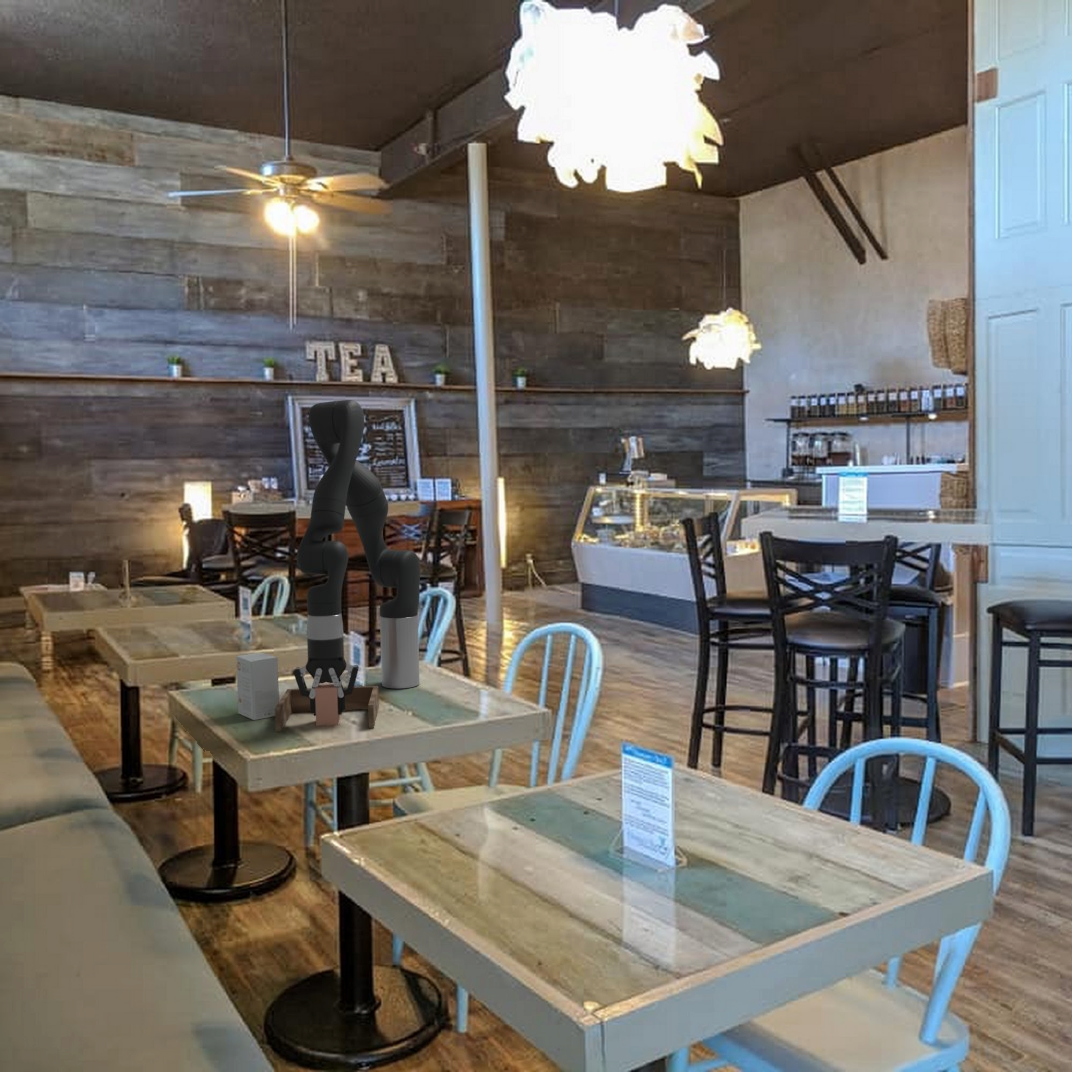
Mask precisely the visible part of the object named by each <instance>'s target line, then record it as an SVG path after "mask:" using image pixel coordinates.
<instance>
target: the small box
mask: <svg viewBox="0 0 1072 1072" xmlns="http://www.w3.org/2000/svg"><path fill="white" fill-rule="evenodd" d="M235 659H236V660H235V661H236V685H237V689H236V690H237V709H238V710H237V712H238V713H237V714H239V715H241V716H243V717H246V718H248V719H251V720H252V721H257V720H261V719H266V718H272V717H275V708H276V706H277V704H278V703H279V701H280V695H279V694H280V691H279V690H280V689H279V665H278V664H279V663H278V661H279V660H278V657H277V656H274V655H271V654H267V653H264V652H257V653H255V652H254V653H248V654H247V653H246V654H241V655H236V657H235Z"/></svg>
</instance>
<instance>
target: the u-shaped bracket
mask: <svg viewBox="0 0 1072 1072" xmlns="http://www.w3.org/2000/svg"><path fill="white" fill-rule="evenodd" d="M311 688H312V687H311ZM311 688H309V687H307V689H309V690H311ZM343 688H344V689H345V688H348V686H343ZM352 709H364V710H368V729H374V728H375V725H376V722H375V721H377V716H378V712H379V709H380V700H379V685H369V686H368V685H363V686H354V689H353V692H352V694H349V695H346V696H345V710H344V711H353V710H352ZM309 711H310V698H309V697H307V696H302V695H301V693H300V690H299V688H287V689H286V691H285V692H284V694H283V695H282V696H281V698H280V699H279V703H278V704H277V706H276V708H275V716H274V717H275V718H274V719H275V732H276V733H281V732H282V731H283V729H284V727H285V725H286V724H287V722H288V720H289V718H290V716H291V715H292V713H307V712H309ZM310 713H311V711H310ZM290 714H291V715H290ZM286 721H287V722H286ZM282 728H283V729H282Z"/></svg>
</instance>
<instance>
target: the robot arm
mask: <svg viewBox="0 0 1072 1072" xmlns="http://www.w3.org/2000/svg"><path fill="white" fill-rule="evenodd" d="M308 423H309V428H310V431H311V434H312V436H313V438H314V439H313V440H314V441H315V442H316V444H317V446H318V448H319V451H321V454H322V455H323V457H324V459H325V461H326V462H327V464H328V467H327V469H326V470H325V472H324V473H323V475H322V477H321V478H320V479H319V481H318V483H317V485H316V487H315V490H314V493H313V497H312V503H311V510H310V511H311V513H310V518H309V522H308V524H307V527H306V530H305V533H304V535H303V537H302V538H301V539H302V540H301V541H300V544H299V546H298V548H297V552H296V565H297V567H298V569H299V571H301V573H303V574H304V575H328V579H327V581H326V582H325V583H323V584H317V585H313V586H311V587H309V588H308V589H307V591H306V602H307V603H306V605H307V607H306V608H307V618H306V619H307V620H306V633H305V635H306V643H307V646H306V647H307V662H306V664H305V665H304V666H301V667H299V666H297V667H295V668H294V670H293V675H294V676H293V677H294V680H295V682H296V684H297V687H298V688H297V689H299V690H300V693H301V695H302V696H307V697H309V698H310V711H311V712H310V713H311V714H313V716H314V717H316V702H315V688H318V686H319V684H322V683H333V684H334V687H337V694H338V715H340V716H342V715H343V712H345V711H346V710H345V696H346V695H349V694H352V692H353V689H354V687H355V684H356V680H357V676H358V674H359V673H358V672H359V669H360V666H359V665H357V664H355V665H352V664H348V663H347V661H346V659H345V646H344V644H345V643H344V622H343V615H342V614H343V613H342V589H343V582H344V578H345V574H346V570H347V566H348V564H349V563H348V562H349V551H348V548H347V547H346V545H345V544H344V543H343V542H342V541H339V540H323V539H324V538H325V537H328V536H330V535H333V534H338V533H339V532H341V531H342V530H343V527H344V524H345V523H344V522H345V516H346V515H345V514H346V509H347V511H348V513H349V515H350V517H351V519H352V521H353V524H354V526H355V529H356V531H357V535H358V537H359V539H360V542H361V544H362V545H361V546H362V548H363V551H364V555H365V558H366V562H367V564H368V568H369V572H370V574H371V576H372V579H373V581H374V582H375V583H376V584H377V585H378V586H379V587H383V588H394V589H395V588H396V589H397V592H396V593H397V594H396V595H395V597H394V598H392V599H391V600H388V601H385V602H383V603H381V604H380V606H379V630H380V632H379V633H380V634H379V635H380V666H381V668H380V669H381V670H380V671H381V673H380V674H381V686H382V687H384V688H387V689H408V688H413V687H416V686H419V685H420V647H419V646H420V644H419V642H420V641H419V639H420V638H419V612H418V611H419V610H418V609H419V604H420V596H421V595H420V592H421V591H420V590H421V588H420V585H421V581H420V580H421V565H420V560H419V556H418V554H417V553H416V552H415V551H413V550H410V549H409V550H407V549H389V548H388V547H387V545H386V543H385V540H384V536H383V530H384V527H385V524H386V520H387V517H388V512H389V502H388V499H387V496H386V494H385V491H384V489H383V487H382V484H381V482H380V480H379V478H377V476H376V475H375V474H374V473H373V472H372V471H371V470H370V469H368V468H367V467H366V466H365V465H364V464H363V463H361V462H360V461H358V459H357V458H358V455H359V450H360V447H361V443H362V440H363V436H364V431H365V414H364V410H363V408H362V406H361V404H360V403H359V402H358V401H356V400H354V399H343V400H332V401H331V400H330V401H325V402H324V401H323V402H318V403H315V404H313V405H312V406H311V407H310V409H309V412H308ZM345 670H347V675H348V676H349V680H348V681H349V682H348V685H347V687H348V688H345V689H344V688H343V687H344V686H343V685H344V684H343V681H342V679H341V676H342V674H343V673H344V672H345ZM306 672H307V673H308V674H309V675H310V676H311V678H312V679H313V681H312V685H311V690H309V689H307V688H308V686H307V684H306V681H305V675H306Z"/></svg>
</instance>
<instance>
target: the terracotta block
mask: <svg viewBox="0 0 1072 1072" xmlns="http://www.w3.org/2000/svg"><path fill="white" fill-rule="evenodd" d="M315 702H316V716H315V725H327V726H339V724H338V723H340V721H341V715H338V694H337V687H334V684H333V683H328V682H325V683H320V684H319V686H318V688H315Z"/></svg>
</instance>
